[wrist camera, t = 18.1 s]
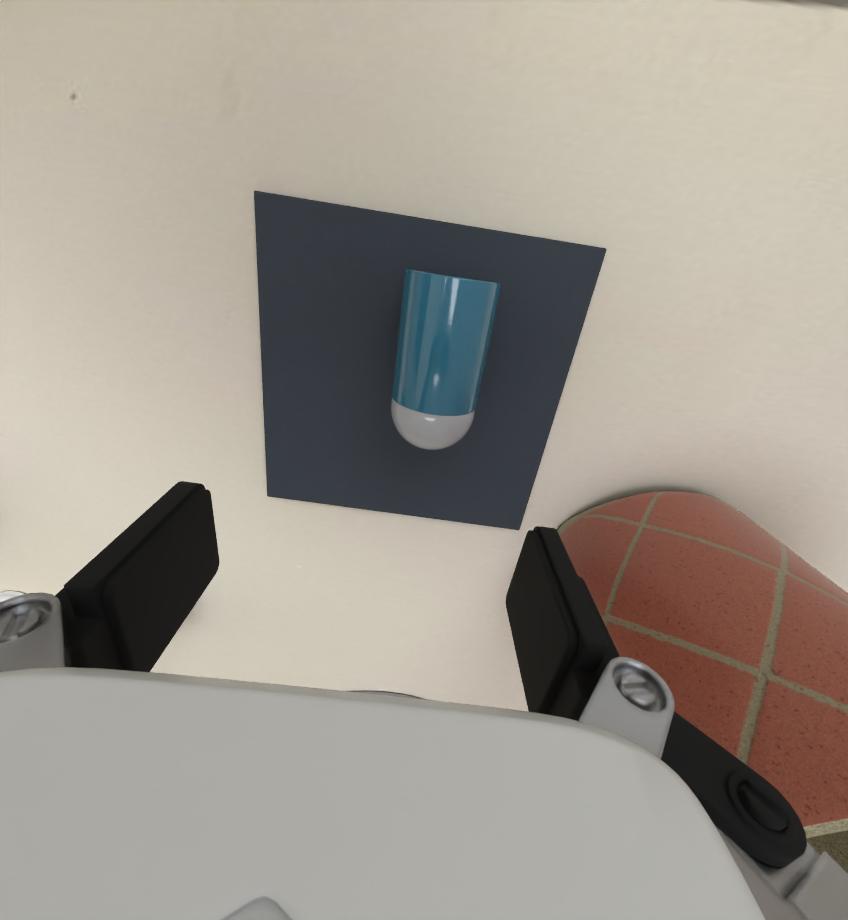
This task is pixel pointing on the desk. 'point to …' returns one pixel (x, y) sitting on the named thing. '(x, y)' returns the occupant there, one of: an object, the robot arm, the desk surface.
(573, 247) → the slate mat
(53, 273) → the desk surface
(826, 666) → the planter
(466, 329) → the blue domed cylinder
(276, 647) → the desk surface
